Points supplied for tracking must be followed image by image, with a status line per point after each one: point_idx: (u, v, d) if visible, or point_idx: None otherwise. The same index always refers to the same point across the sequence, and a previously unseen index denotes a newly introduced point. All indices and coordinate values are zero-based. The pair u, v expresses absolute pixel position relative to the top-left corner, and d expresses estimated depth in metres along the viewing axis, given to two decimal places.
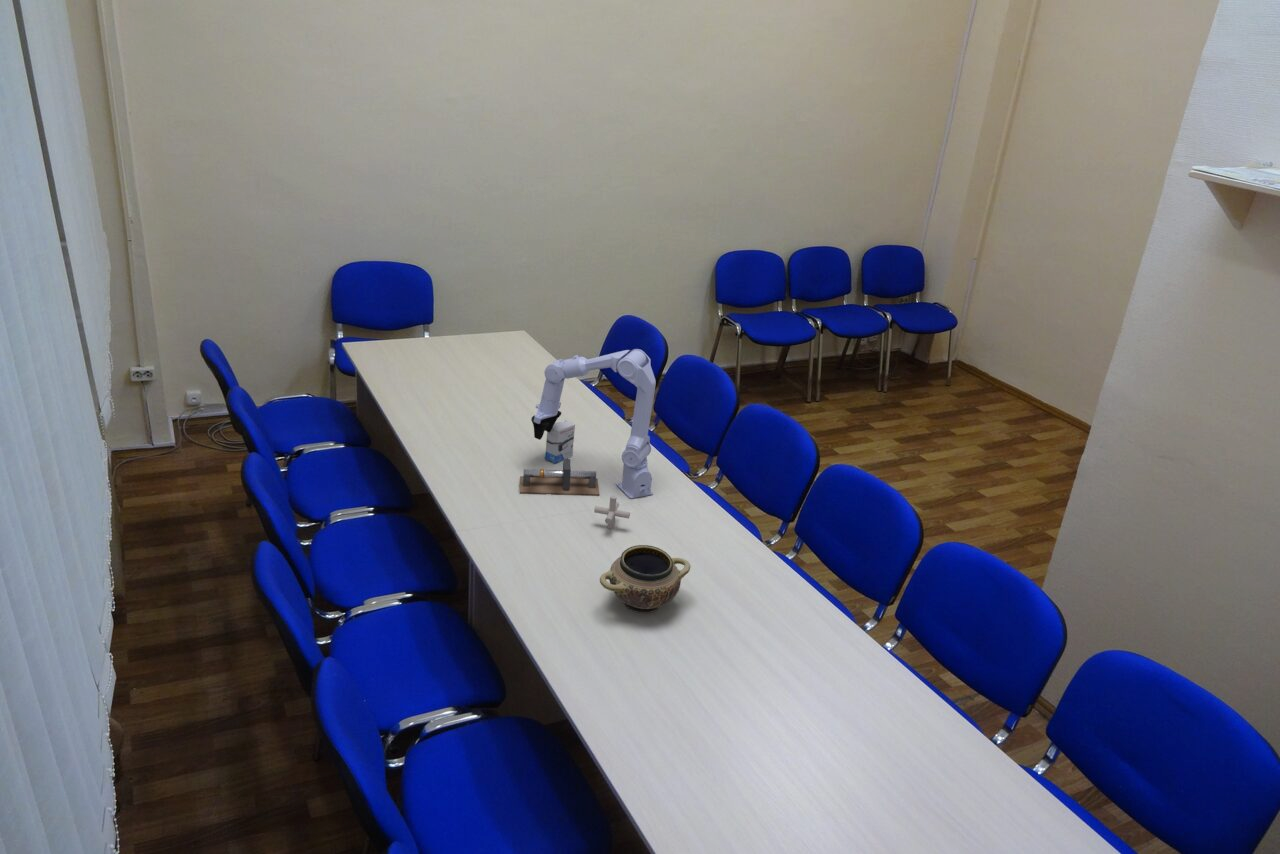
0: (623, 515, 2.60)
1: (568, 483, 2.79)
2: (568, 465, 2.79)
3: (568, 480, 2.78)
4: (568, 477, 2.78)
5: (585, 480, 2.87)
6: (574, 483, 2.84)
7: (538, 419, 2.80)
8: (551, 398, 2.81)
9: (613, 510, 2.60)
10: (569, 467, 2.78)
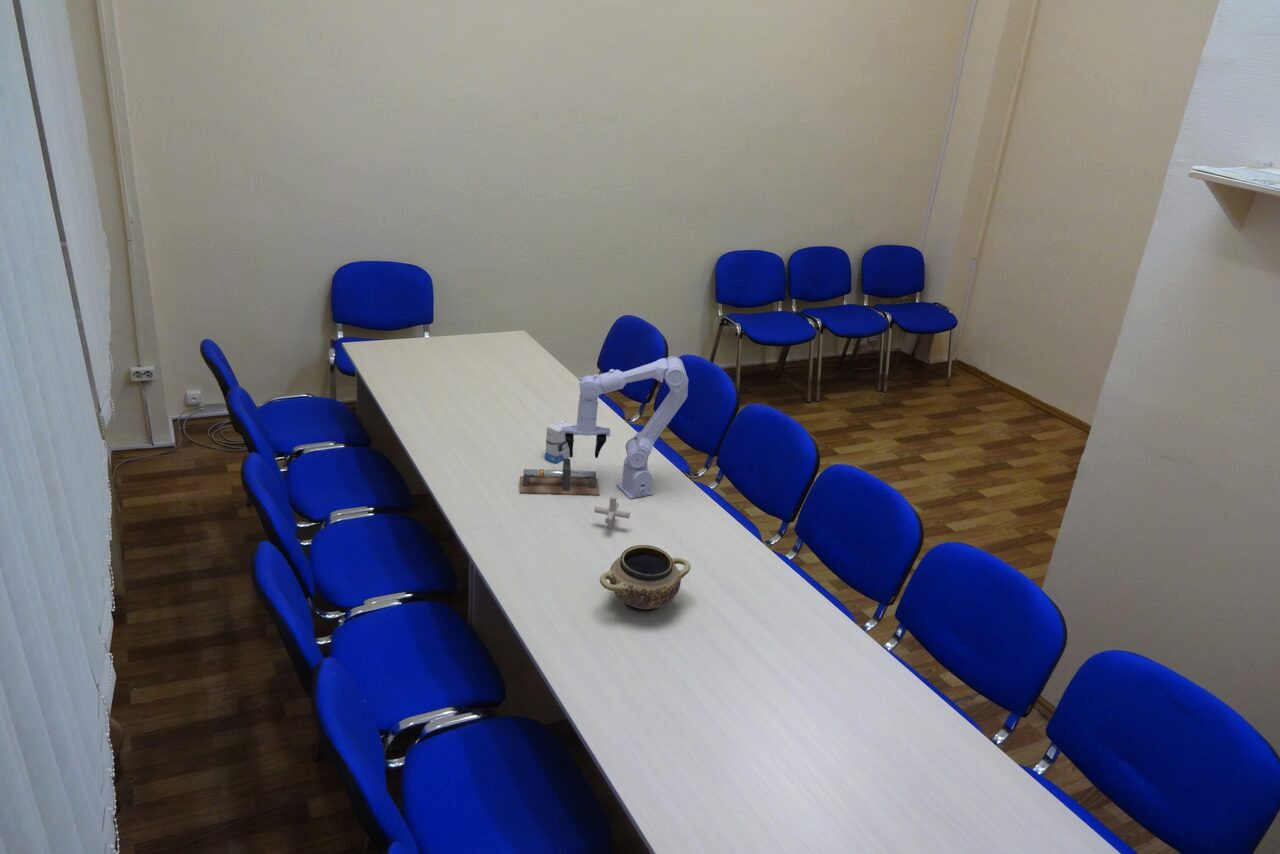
0: (623, 515, 2.60)
1: (568, 483, 2.79)
2: (568, 465, 2.79)
3: (568, 480, 2.78)
4: (568, 477, 2.78)
5: (585, 480, 2.87)
6: (574, 483, 2.84)
7: (561, 430, 2.74)
8: (591, 416, 2.71)
9: (613, 510, 2.60)
10: (569, 467, 2.78)
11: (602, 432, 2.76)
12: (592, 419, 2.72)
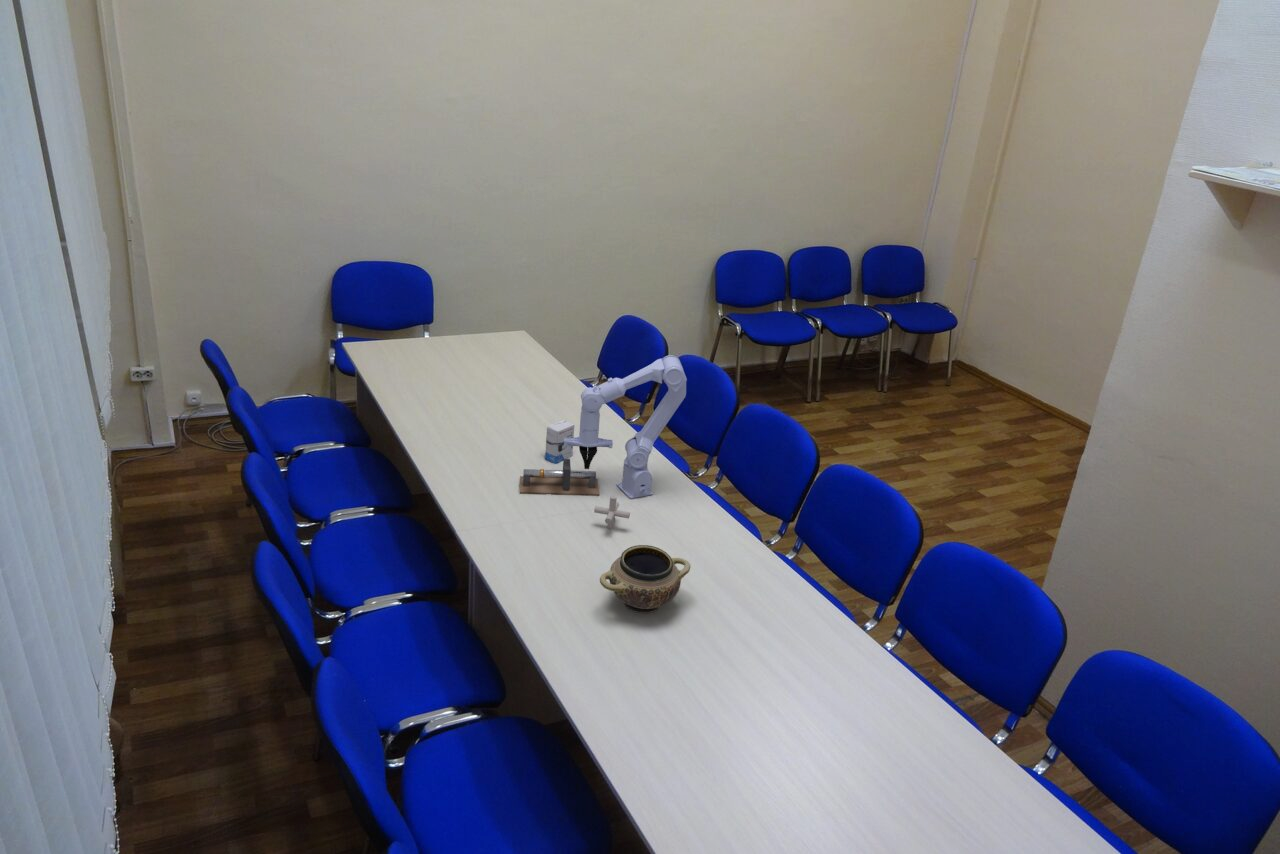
0: (623, 515, 2.60)
1: (568, 483, 2.79)
2: (568, 465, 2.79)
3: (568, 480, 2.78)
4: (568, 477, 2.78)
5: (585, 480, 2.87)
6: (574, 483, 2.84)
7: (564, 441, 2.76)
8: (593, 427, 2.73)
9: (613, 510, 2.60)
10: (569, 467, 2.78)
11: (604, 444, 2.76)
12: (594, 431, 2.73)
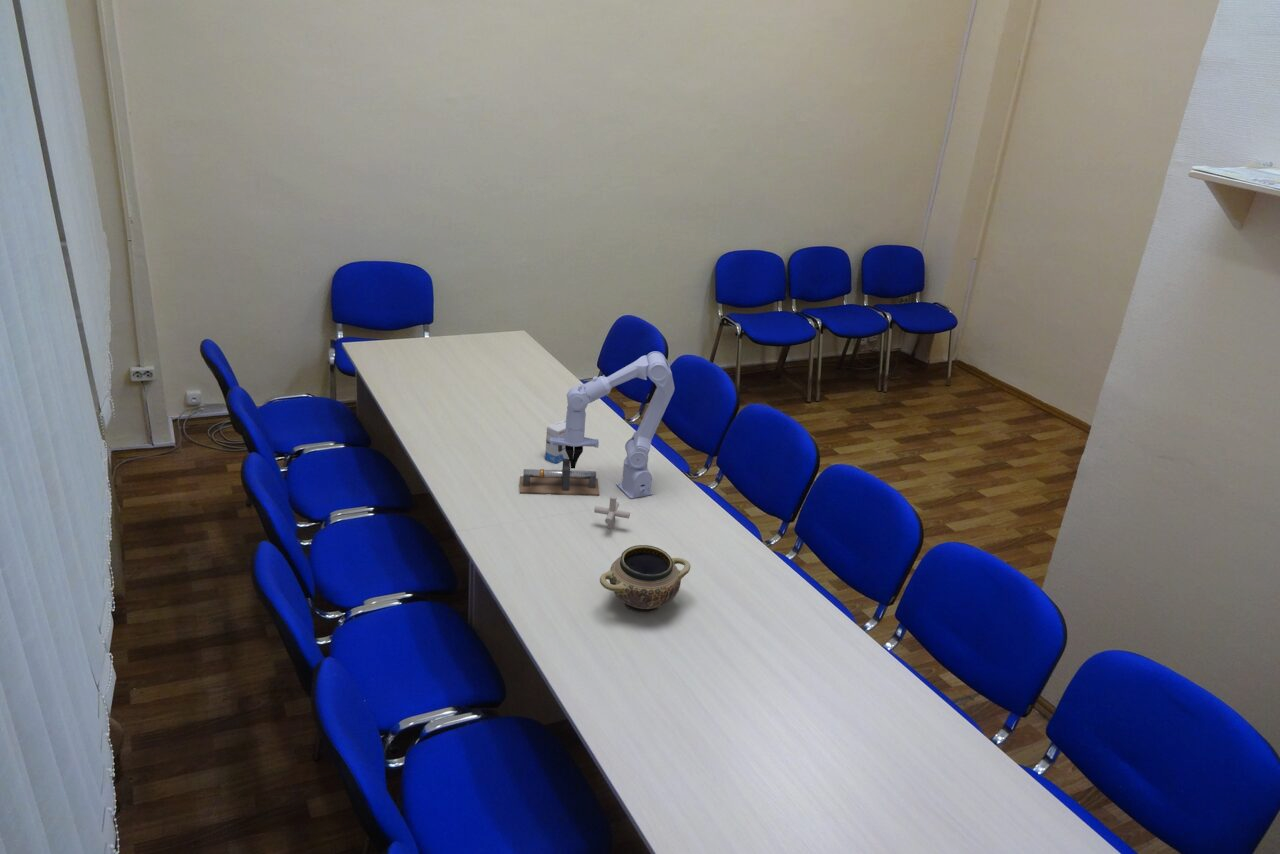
0: (623, 515, 2.60)
1: (568, 483, 2.79)
2: (568, 465, 2.79)
3: (568, 480, 2.78)
4: (568, 477, 2.78)
5: (585, 480, 2.87)
6: (574, 483, 2.84)
7: (550, 441, 2.75)
8: (579, 427, 2.72)
9: (613, 510, 2.60)
10: (569, 467, 2.78)
11: (590, 443, 2.76)
12: (580, 430, 2.73)
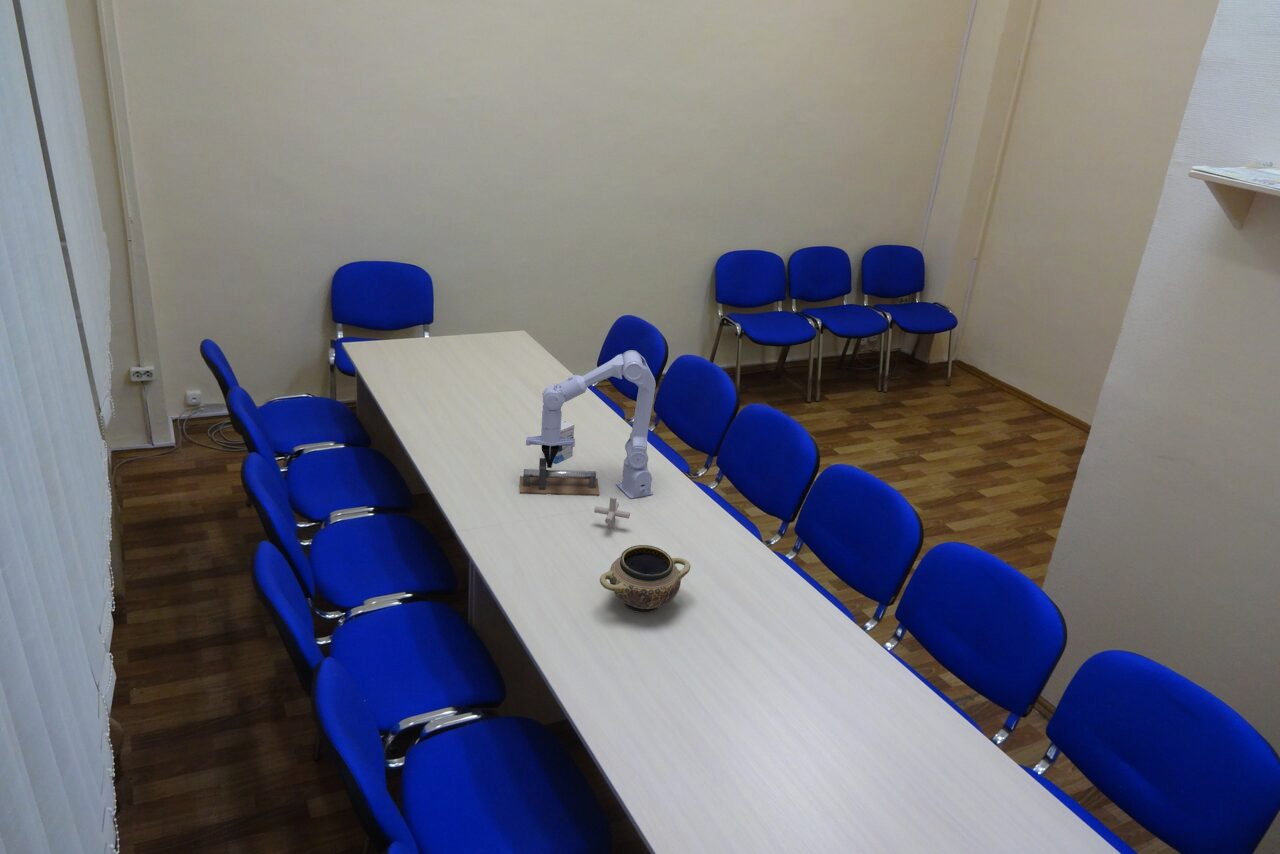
0: (623, 515, 2.60)
1: (544, 482, 2.78)
2: (544, 464, 2.78)
3: (544, 479, 2.77)
4: (544, 476, 2.77)
5: (585, 480, 2.87)
6: (574, 483, 2.84)
7: (526, 440, 2.74)
8: (555, 426, 2.71)
9: (613, 510, 2.60)
10: (545, 466, 2.77)
11: (566, 442, 2.75)
12: (555, 429, 2.72)
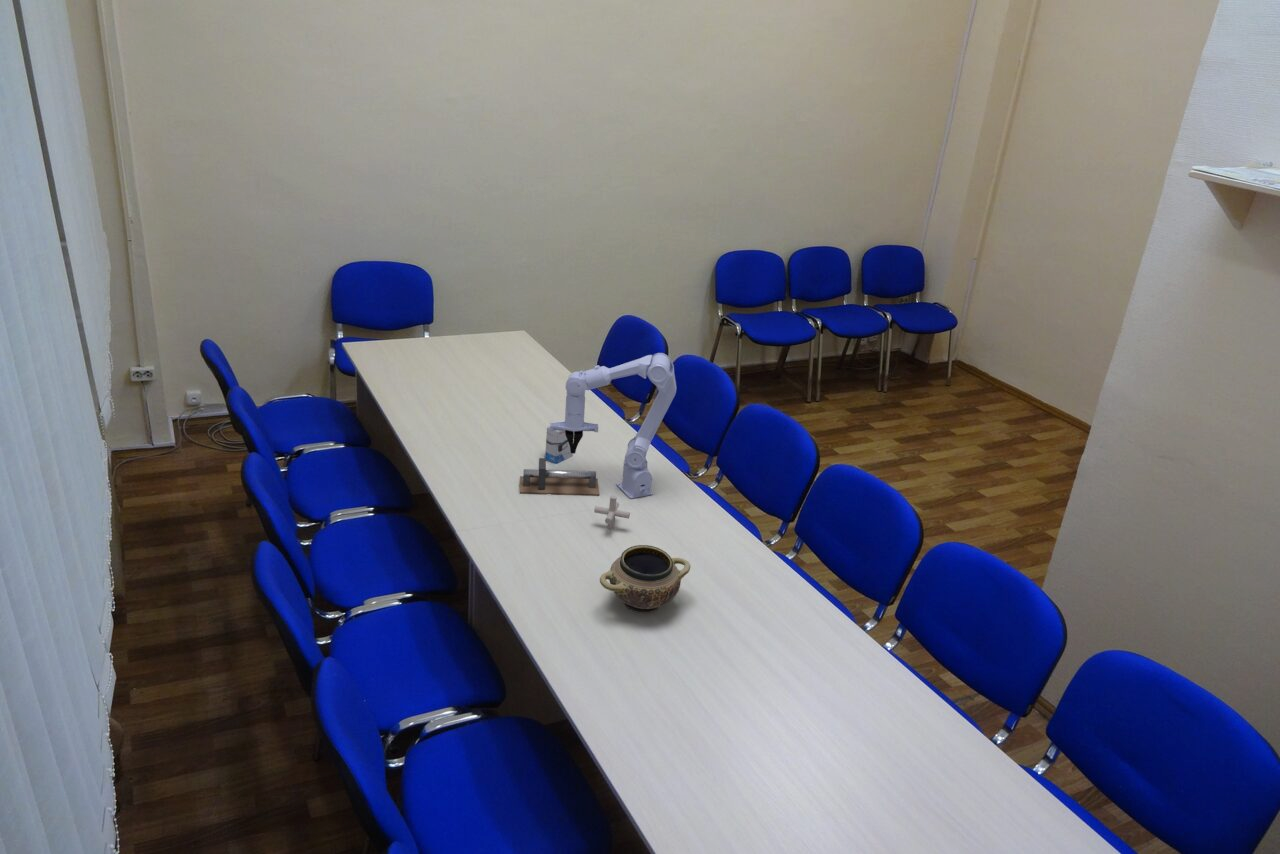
0: (623, 515, 2.60)
1: (543, 482, 2.78)
2: (543, 464, 2.78)
3: (543, 479, 2.77)
4: (543, 476, 2.77)
5: (585, 480, 2.87)
6: (574, 483, 2.84)
7: (550, 426, 2.77)
8: (577, 412, 2.74)
9: (613, 510, 2.60)
10: (544, 466, 2.77)
11: (590, 428, 2.78)
12: (579, 415, 2.74)
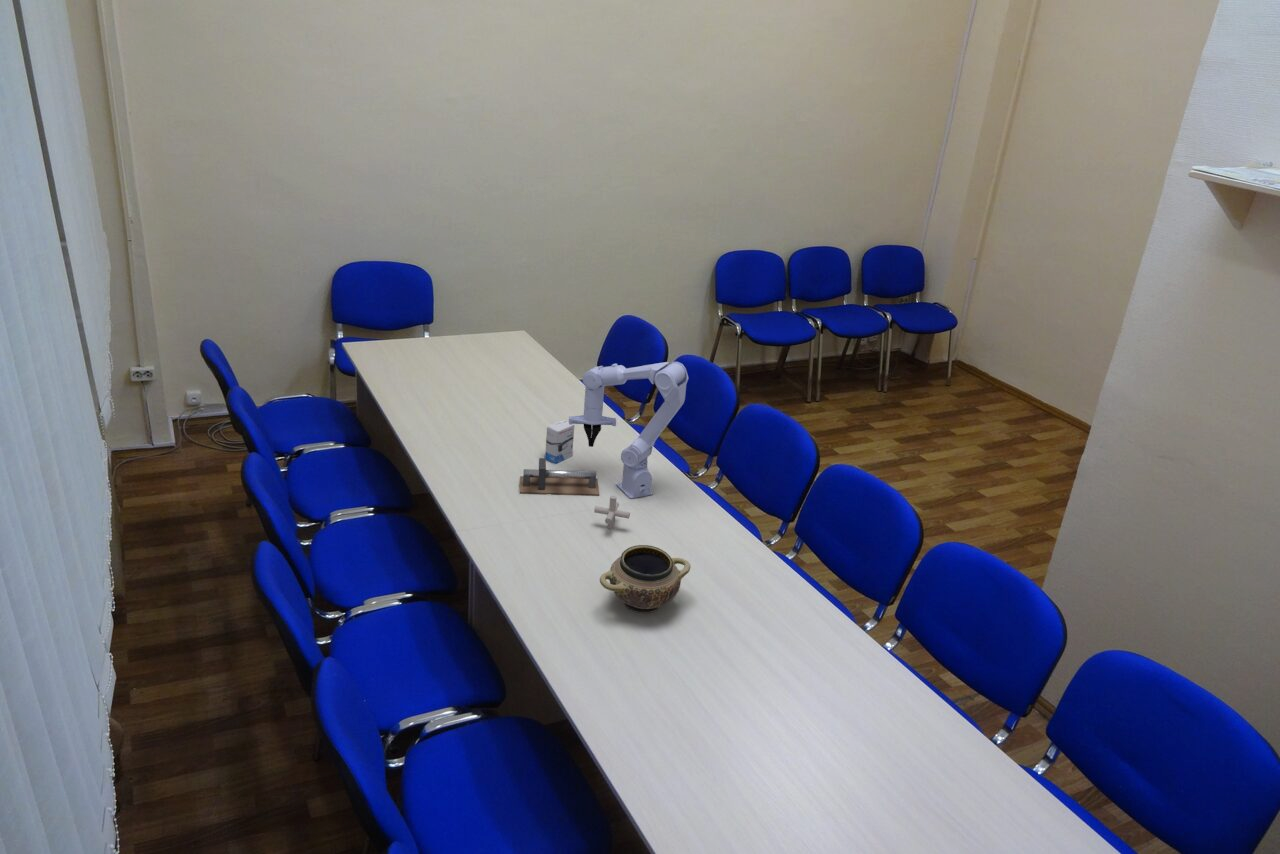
0: (623, 515, 2.60)
1: (543, 482, 2.78)
2: (543, 464, 2.78)
3: (543, 479, 2.77)
4: (543, 476, 2.77)
5: (585, 480, 2.87)
6: (574, 483, 2.84)
7: (569, 419, 2.82)
8: (593, 406, 2.78)
9: (613, 510, 2.60)
10: (544, 466, 2.77)
11: (608, 422, 2.83)
12: (598, 409, 2.79)
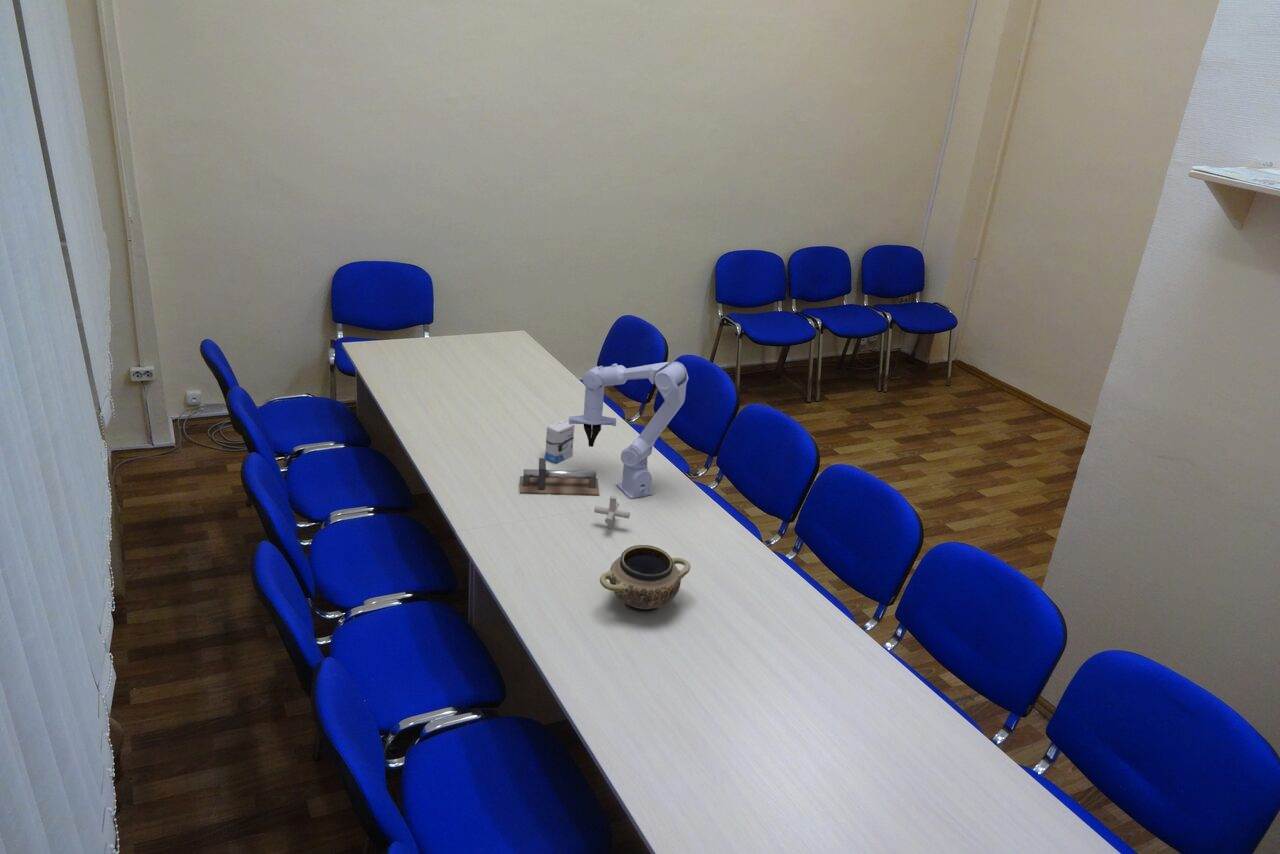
0: (623, 515, 2.60)
1: (543, 482, 2.78)
2: (543, 464, 2.78)
3: (543, 479, 2.77)
4: (543, 476, 2.77)
5: (585, 480, 2.87)
6: (574, 483, 2.84)
7: (569, 419, 2.82)
8: (593, 406, 2.78)
9: (613, 510, 2.60)
10: (544, 466, 2.77)
11: (608, 422, 2.83)
12: (598, 409, 2.79)
